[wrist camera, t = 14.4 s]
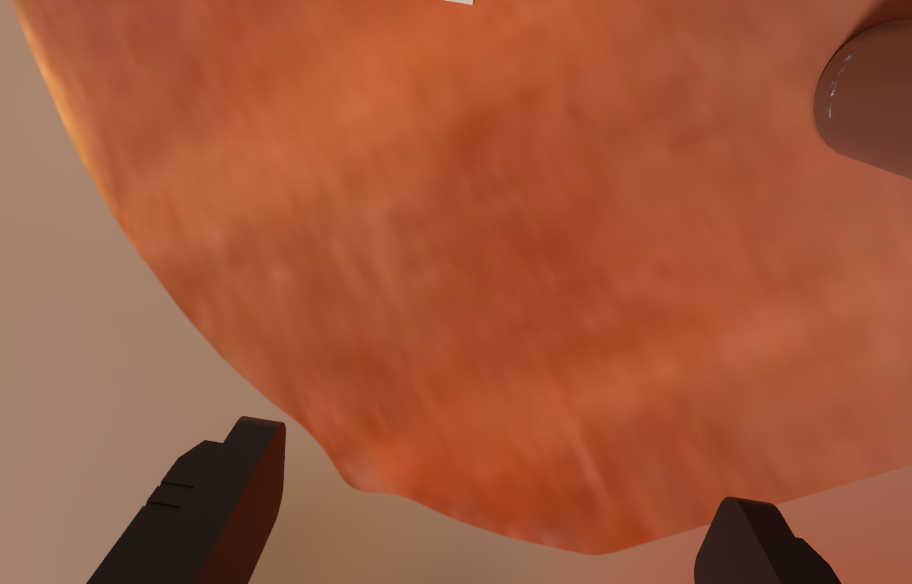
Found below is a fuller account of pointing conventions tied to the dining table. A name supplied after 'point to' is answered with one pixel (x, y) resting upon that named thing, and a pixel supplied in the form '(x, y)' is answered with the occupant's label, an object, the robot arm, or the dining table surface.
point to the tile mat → (463, 1)
